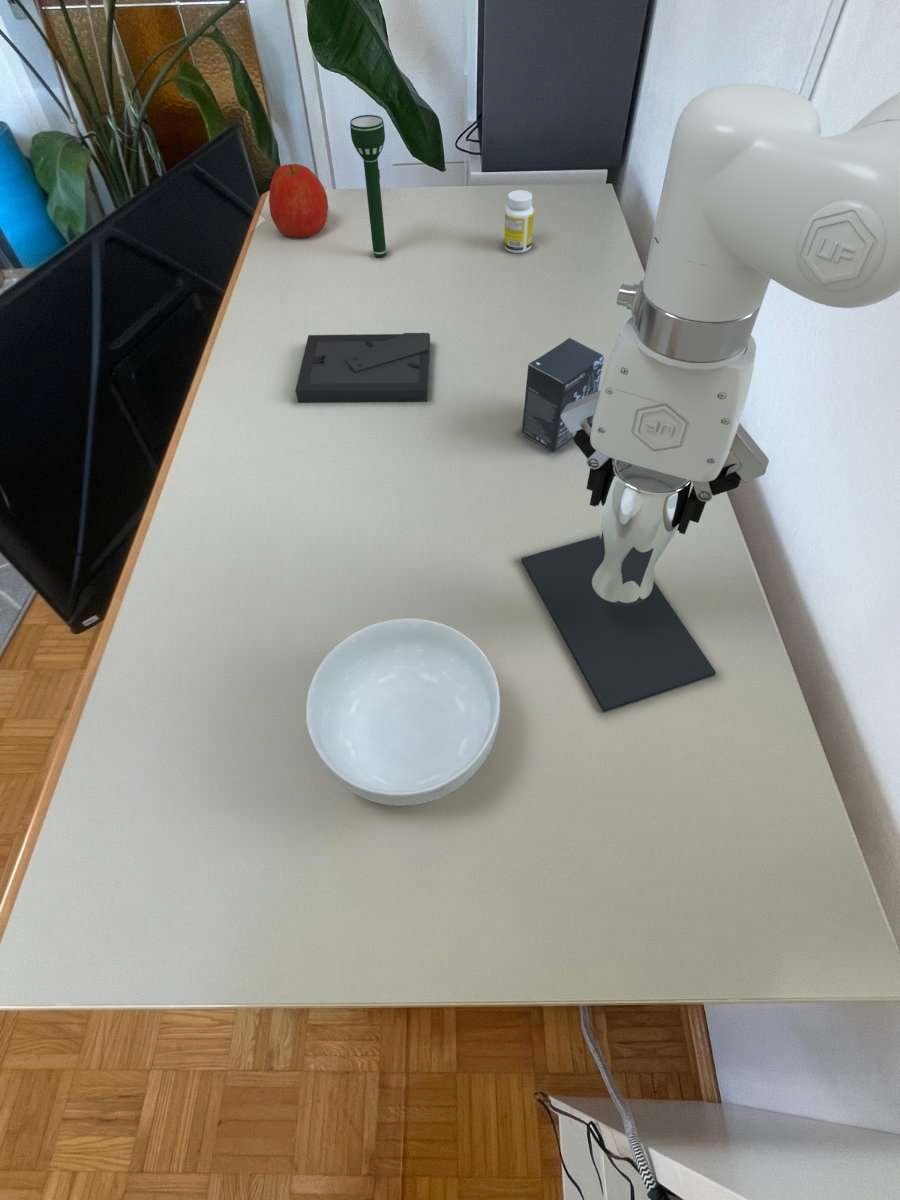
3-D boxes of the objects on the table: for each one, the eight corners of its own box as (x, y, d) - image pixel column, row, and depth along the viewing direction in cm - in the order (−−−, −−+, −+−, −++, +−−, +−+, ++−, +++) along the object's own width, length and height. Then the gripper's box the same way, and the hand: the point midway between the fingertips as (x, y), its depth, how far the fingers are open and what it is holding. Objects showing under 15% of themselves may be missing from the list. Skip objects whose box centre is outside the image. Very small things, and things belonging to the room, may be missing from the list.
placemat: (714, 675, 68) (716, 672, 67) (603, 712, 66) (604, 709, 65) (618, 533, 79) (619, 529, 79) (521, 561, 77) (521, 557, 77)
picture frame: (430, 345, 103) (310, 346, 103) (429, 331, 101) (307, 332, 101) (427, 401, 95) (297, 402, 95) (426, 387, 93) (294, 388, 93)
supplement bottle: (523, 238, 122) (526, 186, 115) (536, 250, 119) (540, 197, 113) (499, 244, 121) (500, 192, 114) (511, 256, 118) (513, 203, 112)
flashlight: (401, 254, 120) (390, 119, 104) (380, 265, 117) (366, 130, 101) (379, 245, 122) (366, 112, 106) (359, 256, 119) (342, 122, 103)
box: (554, 455, 88) (563, 383, 79) (520, 434, 90) (526, 362, 82) (593, 426, 91) (606, 354, 82) (559, 407, 93) (569, 335, 85)
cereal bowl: (322, 664, 70) (309, 623, 64) (487, 652, 70) (489, 610, 64) (314, 833, 59) (298, 802, 54) (508, 817, 60) (513, 785, 54)
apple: (332, 215, 129) (323, 151, 121) (329, 241, 123) (319, 177, 115) (277, 217, 129) (264, 154, 121) (271, 244, 123) (257, 179, 114)
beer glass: (570, 583, 68) (592, 467, 56) (611, 544, 71) (640, 426, 59) (630, 622, 65) (666, 508, 53) (671, 579, 68) (713, 462, 56)
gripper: (550, 317, 46) (531, 507, 61) (824, 381, 42) (733, 572, 56) (587, 265, 50) (561, 454, 65) (840, 318, 46) (752, 510, 60)
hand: (641, 507), depth 60 cm, fingers closed on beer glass, 7 cm apart
